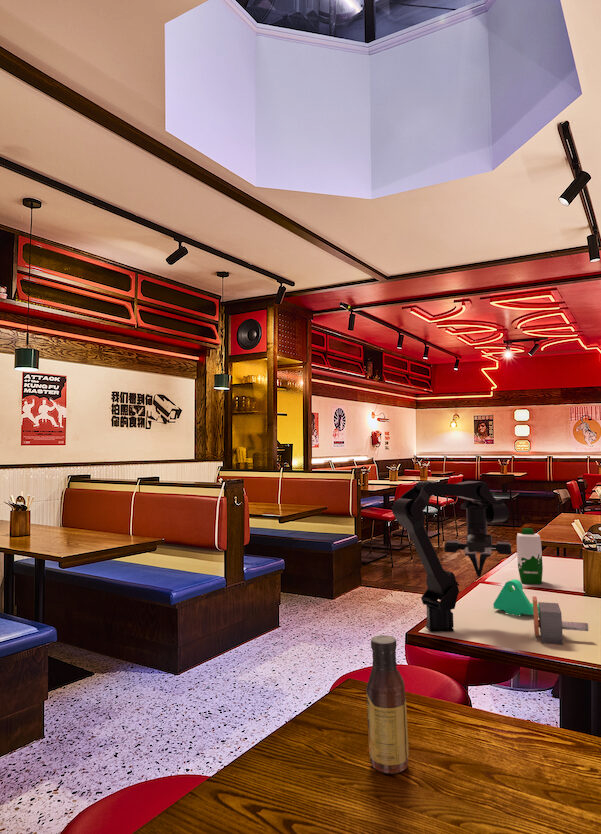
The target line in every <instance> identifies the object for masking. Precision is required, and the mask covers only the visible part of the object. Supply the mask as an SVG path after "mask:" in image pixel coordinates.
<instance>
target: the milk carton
mask: <svg viewBox="0 0 601 834" xmlns="http://www.w3.org/2000/svg"><path fill="white" fill-rule="evenodd" d="M542 548H543V547H542V539H541V536H540V534H539V533H534V528H532V527H531V528H529V527H522V528H521V533H519V532H517V535H516V552H517V553H516V554H517V569H518V574H519V579H520V580H519V581H520V582H521V584H522V585H524V584H528V585H542V584H543V582H542V581H543V571H544V570H543V568H544V565H543V553H542V552H543V551H542Z"/></svg>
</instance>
